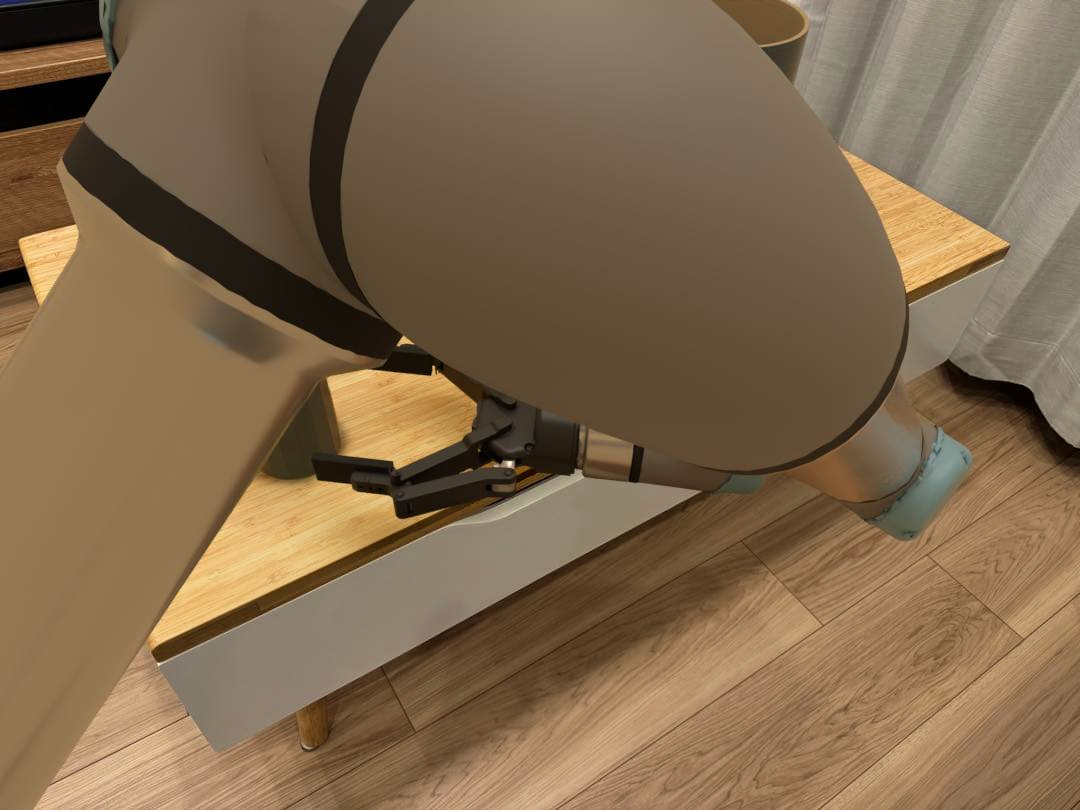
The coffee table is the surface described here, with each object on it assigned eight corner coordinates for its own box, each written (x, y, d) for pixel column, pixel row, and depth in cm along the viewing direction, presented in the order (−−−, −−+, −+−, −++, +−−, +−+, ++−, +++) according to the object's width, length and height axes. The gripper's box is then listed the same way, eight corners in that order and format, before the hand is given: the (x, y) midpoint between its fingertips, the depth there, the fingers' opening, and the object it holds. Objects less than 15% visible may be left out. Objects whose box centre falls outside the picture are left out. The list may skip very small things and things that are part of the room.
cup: (326, 484, 70) (302, 398, 62) (240, 474, 70) (205, 387, 62) (351, 420, 75) (333, 333, 67) (271, 411, 76) (243, 324, 68)
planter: (750, 124, 121) (783, -16, 107) (789, 200, 106) (833, 48, 91) (609, 124, 120) (622, -18, 105) (628, 201, 104) (646, 47, 90)
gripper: (565, 582, 61) (301, 550, 62) (590, 367, 78) (383, 346, 79) (570, 526, 55) (281, 492, 57) (595, 308, 73) (373, 287, 74)
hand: (340, 407), depth 68 cm, fingers open, 13 cm apart
